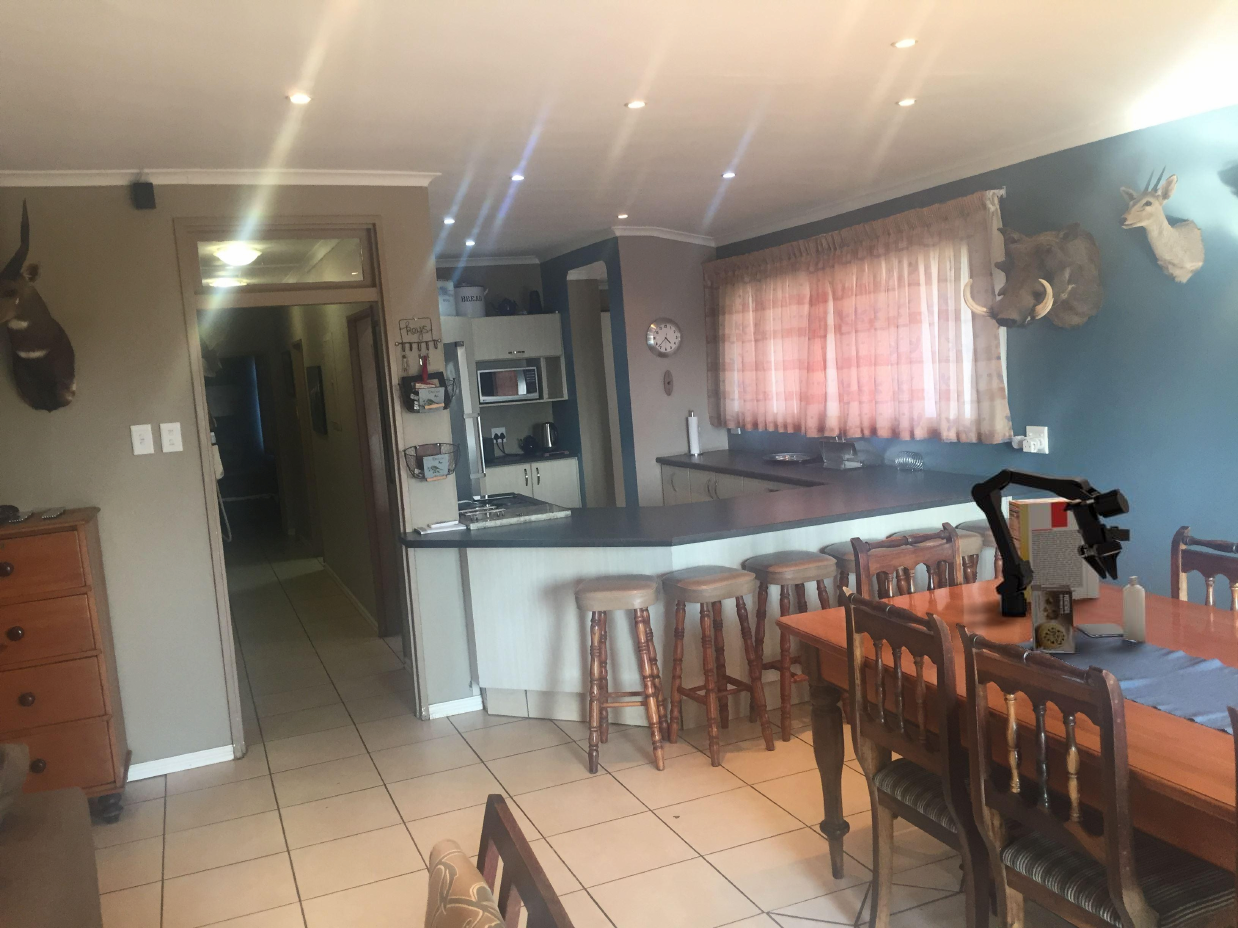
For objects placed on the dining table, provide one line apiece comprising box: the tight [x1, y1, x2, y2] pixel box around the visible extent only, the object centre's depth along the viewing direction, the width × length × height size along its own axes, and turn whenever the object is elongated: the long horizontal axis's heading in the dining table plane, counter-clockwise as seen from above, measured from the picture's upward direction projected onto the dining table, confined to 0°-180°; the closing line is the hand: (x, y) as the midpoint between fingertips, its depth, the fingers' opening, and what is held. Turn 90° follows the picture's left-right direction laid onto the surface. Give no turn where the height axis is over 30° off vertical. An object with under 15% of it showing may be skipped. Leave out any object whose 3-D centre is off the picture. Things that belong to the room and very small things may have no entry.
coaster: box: [1074, 622, 1124, 637], centre depth 237 cm, size 10×10×1 cm
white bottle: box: [1122, 575, 1146, 643], centre depth 228 cm, size 5×5×16 cm
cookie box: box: [1030, 585, 1076, 654], centre depth 224 cm, size 9×6×16 cm
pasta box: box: [1008, 497, 1100, 603], centre depth 273 cm, size 23×8×30 cm, turn 88°
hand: (1110, 579), depth 239 cm, fingers open, 9 cm apart
